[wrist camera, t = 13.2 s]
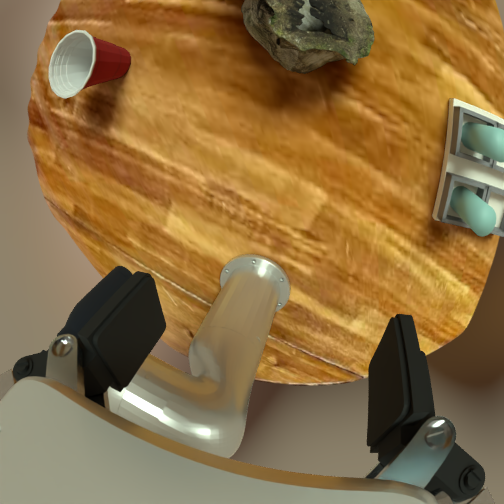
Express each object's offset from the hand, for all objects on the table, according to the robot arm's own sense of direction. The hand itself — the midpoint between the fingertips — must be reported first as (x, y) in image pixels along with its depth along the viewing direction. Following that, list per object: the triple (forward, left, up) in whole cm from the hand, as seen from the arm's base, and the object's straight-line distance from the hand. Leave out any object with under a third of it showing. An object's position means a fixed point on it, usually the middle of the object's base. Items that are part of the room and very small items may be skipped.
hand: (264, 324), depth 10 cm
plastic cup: (+18, +32, -31) cm, 48 cm away
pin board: (+4, -26, -30) cm, 40 cm away
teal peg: (+9, -22, -29) cm, 38 cm away
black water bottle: (-27, +39, -31) cm, 56 cm away
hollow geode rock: (+26, +3, -31) cm, 40 cm away
